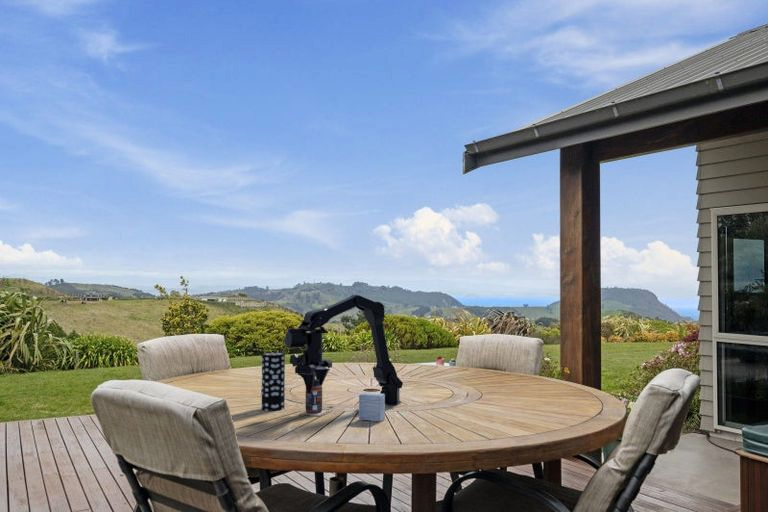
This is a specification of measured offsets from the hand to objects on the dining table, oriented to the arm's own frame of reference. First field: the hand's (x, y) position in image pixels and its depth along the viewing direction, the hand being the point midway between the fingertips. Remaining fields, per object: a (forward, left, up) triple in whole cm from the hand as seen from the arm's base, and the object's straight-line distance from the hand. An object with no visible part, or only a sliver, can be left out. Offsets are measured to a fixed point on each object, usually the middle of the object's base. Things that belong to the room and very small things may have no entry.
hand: (314, 390), depth 217 cm
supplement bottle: (0, 0, -8) cm, 8 cm away
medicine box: (-23, +3, -8) cm, 25 cm away
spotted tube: (+18, -3, -8) cm, 20 cm away
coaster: (0, 0, -8) cm, 8 cm away
